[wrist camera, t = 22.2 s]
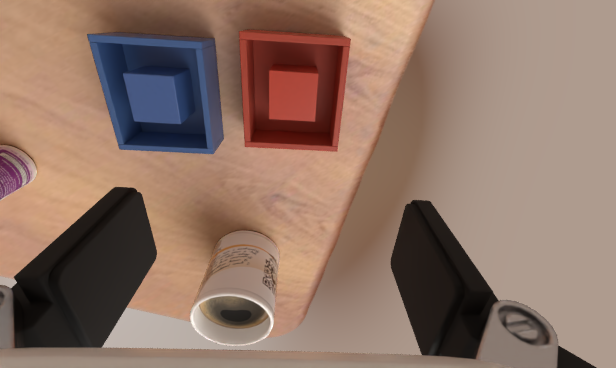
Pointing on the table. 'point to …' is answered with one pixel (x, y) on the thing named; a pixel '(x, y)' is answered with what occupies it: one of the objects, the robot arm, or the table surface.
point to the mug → (238, 290)
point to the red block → (293, 92)
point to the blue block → (160, 94)
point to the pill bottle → (14, 170)
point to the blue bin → (160, 53)
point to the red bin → (294, 51)
